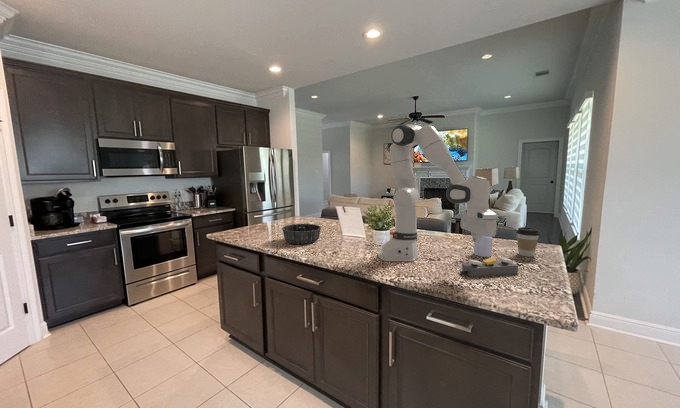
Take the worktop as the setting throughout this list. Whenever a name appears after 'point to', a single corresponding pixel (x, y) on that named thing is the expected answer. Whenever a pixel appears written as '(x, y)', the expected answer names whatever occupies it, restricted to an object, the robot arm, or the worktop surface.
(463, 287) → the worktop surface
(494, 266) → the power strip
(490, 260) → the block
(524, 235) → the coffee cup
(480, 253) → the soap bottle
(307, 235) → the bundt pan
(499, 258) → the plate
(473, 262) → the block
